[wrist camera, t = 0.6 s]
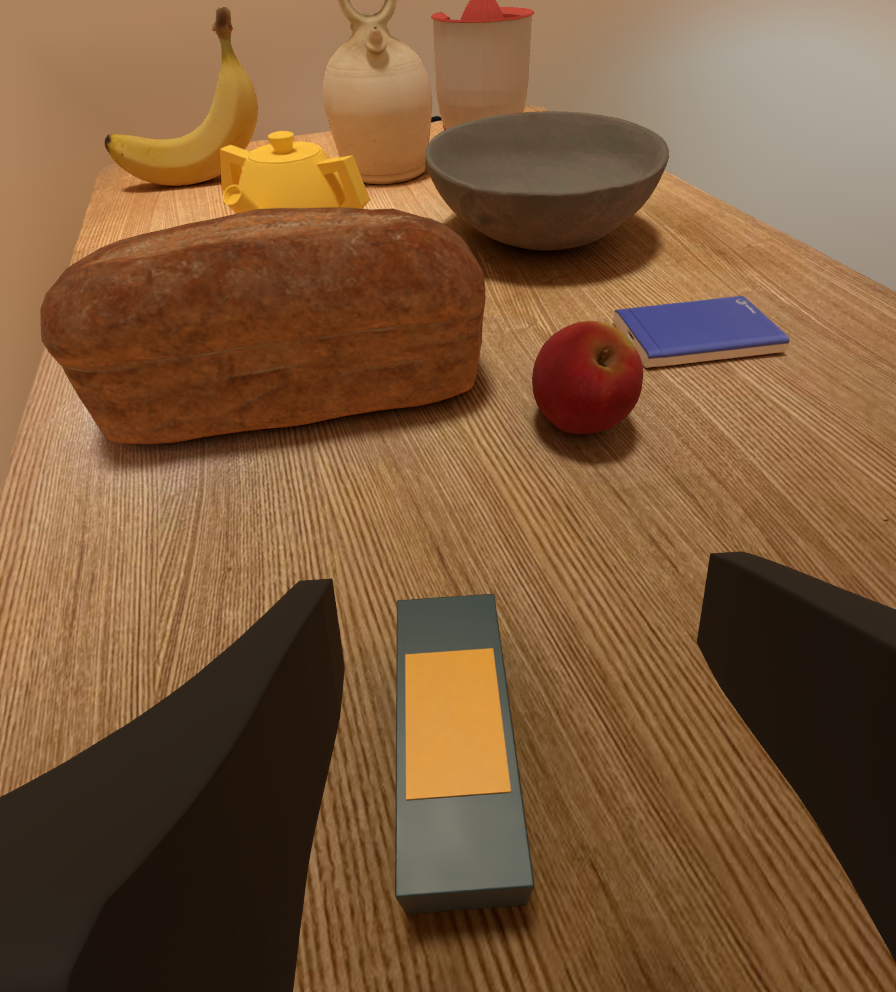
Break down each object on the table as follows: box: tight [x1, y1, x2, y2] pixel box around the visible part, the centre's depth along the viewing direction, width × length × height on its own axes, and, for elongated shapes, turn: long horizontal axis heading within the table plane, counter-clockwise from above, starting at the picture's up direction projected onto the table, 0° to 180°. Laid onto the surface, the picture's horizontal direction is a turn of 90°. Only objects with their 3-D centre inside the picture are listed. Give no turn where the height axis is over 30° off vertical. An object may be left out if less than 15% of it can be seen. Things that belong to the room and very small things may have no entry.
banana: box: [105, 7, 258, 186], centre depth 79 cm, size 23×6×20 cm, turn 105°
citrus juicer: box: [431, 0, 534, 130], centre depth 90 cm, size 16×17×20 cm
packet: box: [395, 594, 534, 914], centre depth 25 cm, size 12×5×4 cm, turn 3°
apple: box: [532, 321, 643, 434], centre depth 40 cm, size 8×8×8 cm
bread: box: [41, 207, 485, 444], centre depth 42 cm, size 12×31×14 cm, turn 101°
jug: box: [323, 0, 432, 184], centre depth 78 cm, size 15×16×25 cm
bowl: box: [425, 111, 669, 251], centre depth 64 cm, size 26×26×10 cm
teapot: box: [219, 131, 370, 214], centre depth 65 cm, size 20×18×11 cm
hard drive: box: [613, 296, 790, 368], centre depth 50 cm, size 2×8×12 cm
